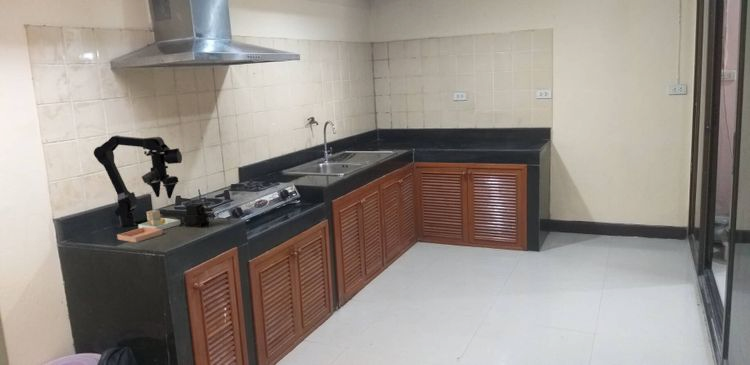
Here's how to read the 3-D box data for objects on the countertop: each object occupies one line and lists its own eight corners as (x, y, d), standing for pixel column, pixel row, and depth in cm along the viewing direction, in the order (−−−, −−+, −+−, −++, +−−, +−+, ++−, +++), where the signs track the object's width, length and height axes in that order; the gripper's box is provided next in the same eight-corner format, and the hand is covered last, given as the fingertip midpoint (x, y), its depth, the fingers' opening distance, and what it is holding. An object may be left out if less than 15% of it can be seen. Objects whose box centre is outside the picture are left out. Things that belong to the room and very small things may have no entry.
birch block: (148, 229, 270) (146, 211, 269) (156, 226, 273) (153, 209, 272) (154, 229, 268) (151, 212, 266) (162, 227, 271) (159, 210, 270)
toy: (208, 229, 263) (205, 207, 261) (183, 228, 269) (180, 206, 267) (219, 225, 270) (216, 203, 268) (194, 224, 276) (191, 203, 274)
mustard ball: (157, 225, 277) (156, 218, 276) (163, 223, 279) (162, 217, 279) (161, 225, 275) (160, 219, 274) (167, 223, 277) (166, 217, 277)
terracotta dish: (118, 240, 256) (117, 234, 256) (144, 232, 266) (143, 227, 266) (136, 243, 249) (135, 237, 248) (162, 235, 259) (161, 229, 259)
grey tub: (138, 230, 272) (138, 224, 272) (163, 222, 282) (162, 217, 282) (156, 232, 265) (155, 227, 264) (180, 225, 275) (179, 219, 275)
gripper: (131, 166, 274) (136, 200, 277) (155, 168, 263) (160, 202, 266) (153, 162, 283) (157, 195, 286) (176, 164, 272) (181, 197, 274)
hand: (163, 197), depth 278 cm, fingers open, 9 cm apart
